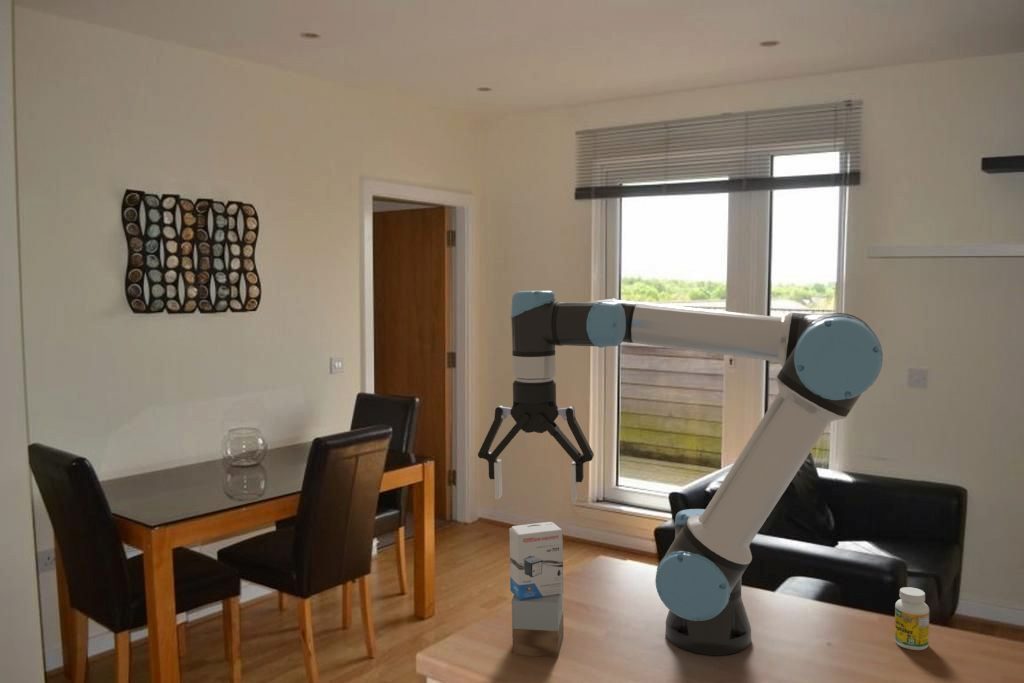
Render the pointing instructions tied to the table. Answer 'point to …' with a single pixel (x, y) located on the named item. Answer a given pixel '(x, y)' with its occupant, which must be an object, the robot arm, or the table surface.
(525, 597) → the ink box
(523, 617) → the grey block
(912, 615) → the supplement bottle
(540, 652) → the walnut block
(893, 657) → the table surface
